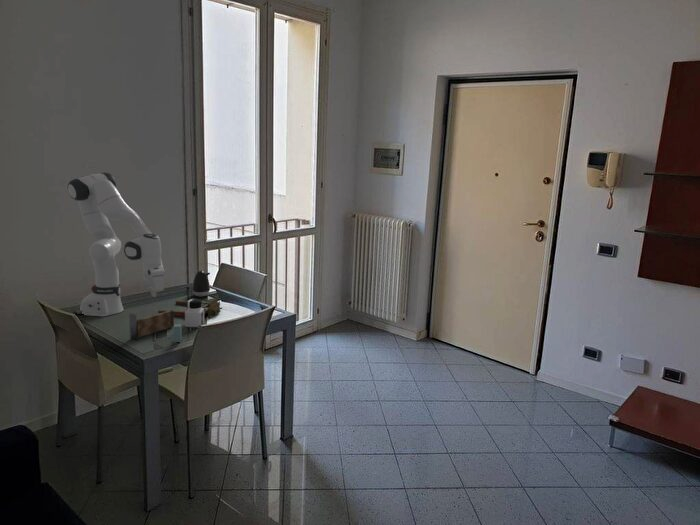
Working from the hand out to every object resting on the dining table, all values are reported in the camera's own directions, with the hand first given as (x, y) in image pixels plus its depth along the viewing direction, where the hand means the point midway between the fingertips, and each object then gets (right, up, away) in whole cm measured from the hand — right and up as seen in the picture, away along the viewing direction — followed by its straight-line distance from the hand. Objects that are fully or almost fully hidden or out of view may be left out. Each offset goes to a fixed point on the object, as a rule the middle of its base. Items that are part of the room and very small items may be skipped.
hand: (153, 296), depth 249 cm
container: (+16, -15, +12) cm, 25 cm away
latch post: (+15, -20, -11) cm, 28 cm away
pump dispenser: (+6, -4, +59) cm, 60 cm away
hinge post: (-5, -19, -11) cm, 23 cm away
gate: (+1, -17, -1) cm, 17 cm away
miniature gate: (+10, -11, +30) cm, 34 cm away
